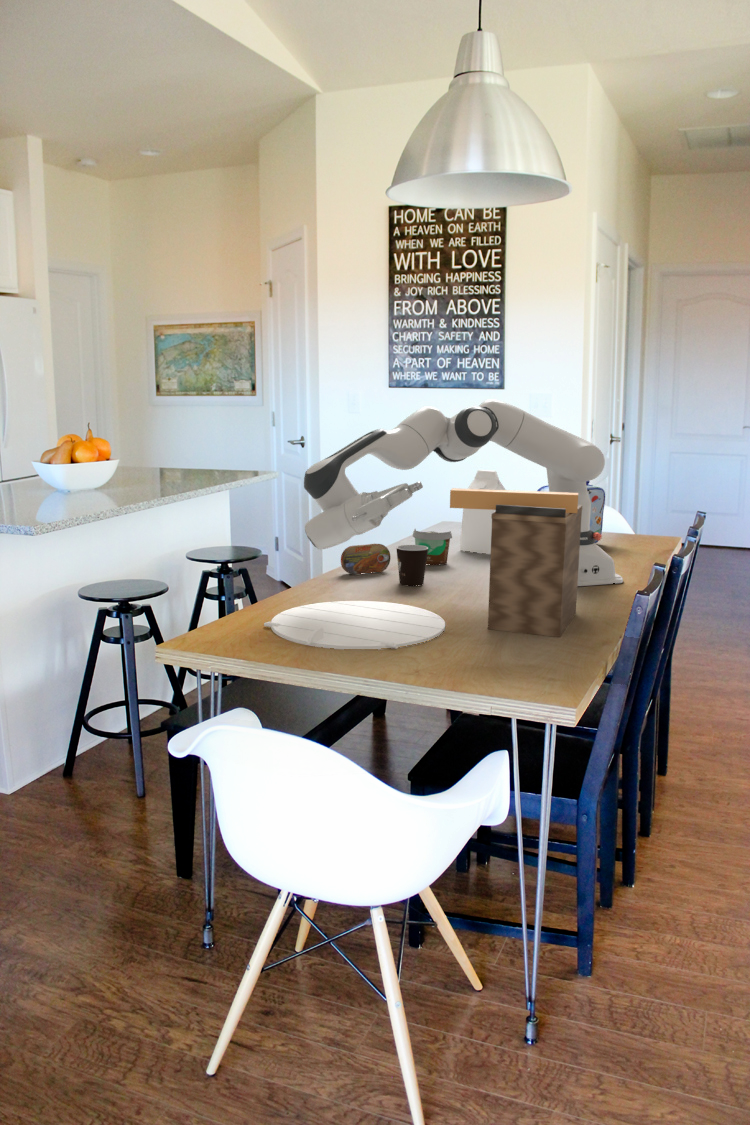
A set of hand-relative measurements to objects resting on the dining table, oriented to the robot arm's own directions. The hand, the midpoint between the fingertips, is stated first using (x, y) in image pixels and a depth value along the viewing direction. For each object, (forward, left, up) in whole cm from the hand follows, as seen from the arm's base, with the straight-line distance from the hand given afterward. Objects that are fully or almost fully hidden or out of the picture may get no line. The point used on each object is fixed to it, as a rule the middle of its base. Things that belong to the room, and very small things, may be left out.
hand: (414, 488), depth 210 cm
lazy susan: (+14, +8, -31) cm, 35 cm away
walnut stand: (-27, +9, -30) cm, 41 cm away
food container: (-17, -59, -30) cm, 68 cm away
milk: (-40, -80, -30) cm, 94 cm away
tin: (+4, -48, -30) cm, 57 cm away
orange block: (-21, +10, -4) cm, 23 cm away
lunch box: (-71, -86, -30) cm, 115 cm away
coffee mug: (-7, -34, -30) cm, 46 cm away
